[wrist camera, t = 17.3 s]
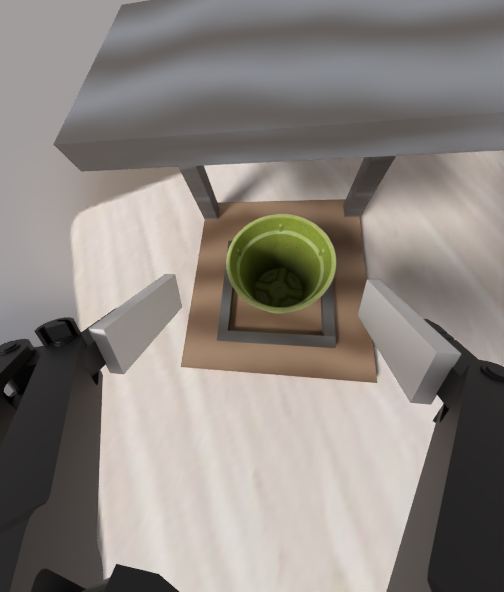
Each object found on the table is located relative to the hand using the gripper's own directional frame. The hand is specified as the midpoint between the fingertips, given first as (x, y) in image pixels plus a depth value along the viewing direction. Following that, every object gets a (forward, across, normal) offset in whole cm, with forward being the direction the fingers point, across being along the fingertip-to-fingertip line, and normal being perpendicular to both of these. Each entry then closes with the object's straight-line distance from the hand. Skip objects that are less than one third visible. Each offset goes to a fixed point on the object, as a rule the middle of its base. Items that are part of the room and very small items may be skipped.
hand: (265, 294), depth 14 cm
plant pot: (+11, +1, -5) cm, 12 cm away
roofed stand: (+13, +1, -4) cm, 14 cm away
